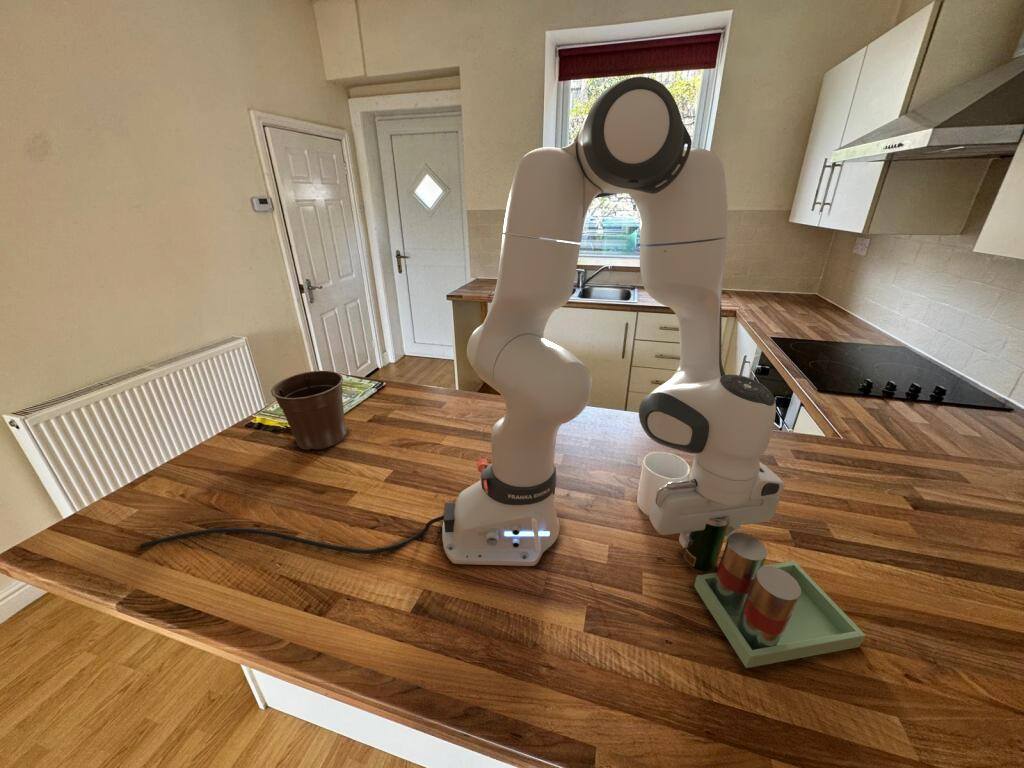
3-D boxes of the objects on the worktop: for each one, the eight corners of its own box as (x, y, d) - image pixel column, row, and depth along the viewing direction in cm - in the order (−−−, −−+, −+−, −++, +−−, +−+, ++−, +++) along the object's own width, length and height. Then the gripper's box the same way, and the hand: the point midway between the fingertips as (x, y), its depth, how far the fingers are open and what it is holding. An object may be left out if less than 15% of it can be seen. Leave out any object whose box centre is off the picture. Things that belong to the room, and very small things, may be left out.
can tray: (745, 670, 54) (750, 656, 53) (693, 587, 65) (696, 575, 64) (858, 648, 57) (866, 635, 55) (789, 573, 68) (794, 560, 66)
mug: (644, 534, 76) (652, 489, 71) (632, 491, 86) (639, 450, 82) (691, 537, 75) (702, 492, 70) (673, 493, 86) (682, 452, 81)
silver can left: (723, 618, 60) (742, 562, 55) (703, 588, 65) (720, 534, 59) (754, 613, 61) (776, 557, 56) (732, 584, 65) (751, 530, 60)
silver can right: (750, 660, 55) (775, 602, 50) (727, 624, 59) (747, 568, 54) (784, 654, 56) (811, 596, 50) (758, 619, 60) (781, 563, 55)
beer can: (703, 580, 67) (718, 526, 61) (675, 558, 71) (687, 506, 65) (721, 565, 69) (738, 512, 64) (693, 544, 73) (707, 493, 68)
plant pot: (275, 442, 104) (257, 386, 97) (331, 416, 116) (319, 365, 109) (310, 464, 96) (293, 405, 89) (366, 433, 108) (356, 379, 101)
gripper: (669, 498, 58) (654, 565, 64) (795, 483, 61) (770, 549, 67) (649, 471, 63) (637, 535, 69) (765, 458, 66) (744, 521, 72)
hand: (703, 542), depth 68 cm, fingers closed on beer can, 5 cm apart
